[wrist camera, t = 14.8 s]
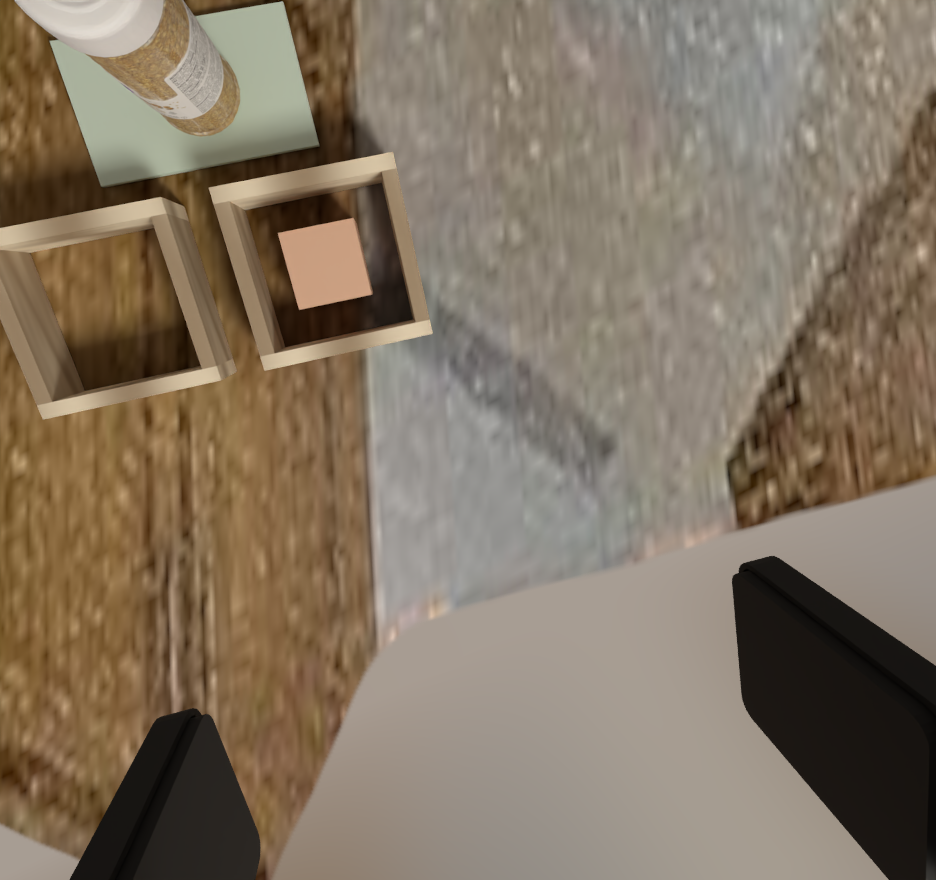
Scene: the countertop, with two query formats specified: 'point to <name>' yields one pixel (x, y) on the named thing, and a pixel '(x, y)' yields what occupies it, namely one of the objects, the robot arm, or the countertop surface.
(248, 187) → the box
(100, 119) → the mat
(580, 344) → the countertop surface
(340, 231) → the terracotta cube
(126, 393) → the box
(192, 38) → the sprinkles bottle
